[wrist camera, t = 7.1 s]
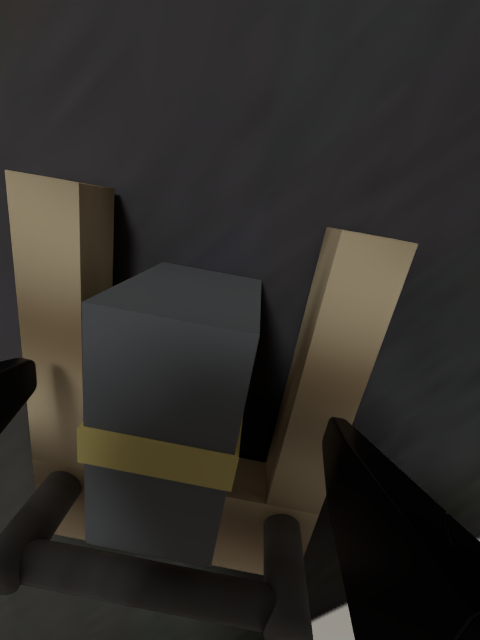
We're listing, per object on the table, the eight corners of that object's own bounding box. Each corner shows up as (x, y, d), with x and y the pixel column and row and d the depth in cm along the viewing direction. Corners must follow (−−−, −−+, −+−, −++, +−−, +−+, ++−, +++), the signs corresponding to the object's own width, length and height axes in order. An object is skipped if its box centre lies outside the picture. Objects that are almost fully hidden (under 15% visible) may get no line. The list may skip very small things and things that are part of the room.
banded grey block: (264, 280, 10) (264, 338, 6) (232, 438, 13) (213, 572, 8) (160, 261, 10) (73, 302, 6) (148, 422, 13) (79, 546, 8)
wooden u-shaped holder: (290, 533, 14) (304, 697, 10) (68, 490, 15) (-31, 629, 10) (388, 237, 10) (516, 263, 5) (54, 178, 10) (-155, 143, 5)
